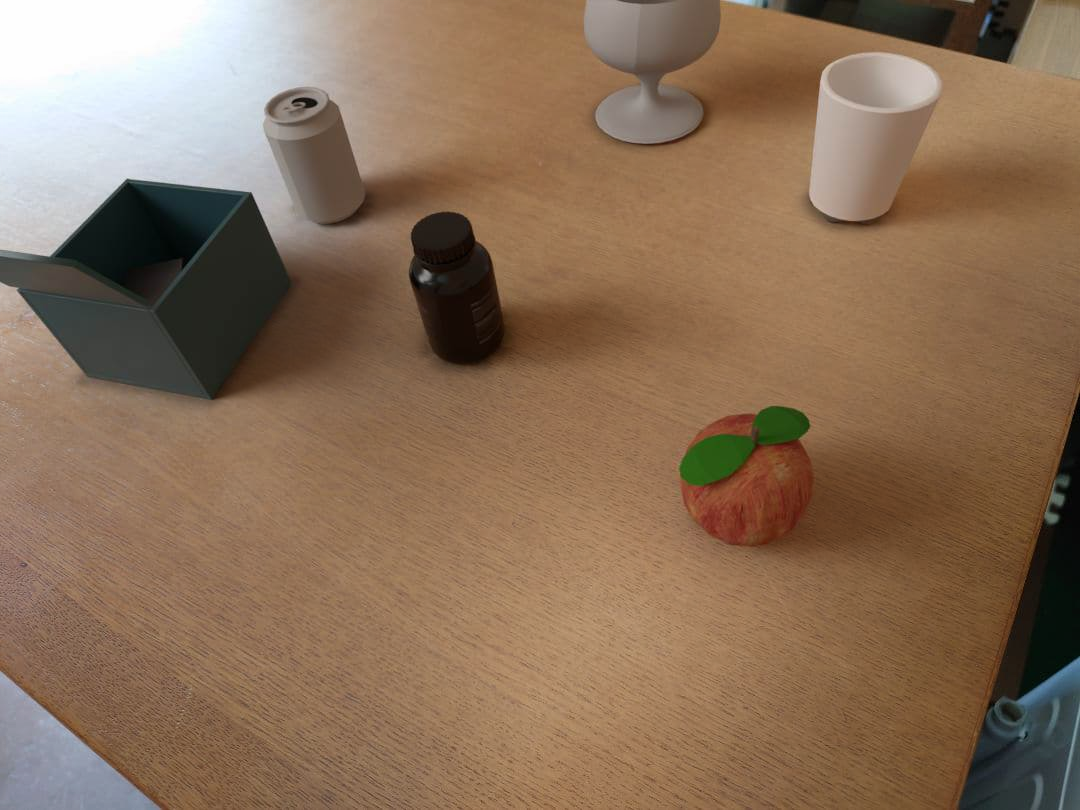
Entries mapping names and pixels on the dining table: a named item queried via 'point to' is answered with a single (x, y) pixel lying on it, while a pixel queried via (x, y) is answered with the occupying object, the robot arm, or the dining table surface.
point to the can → (313, 154)
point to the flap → (62, 278)
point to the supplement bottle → (455, 289)
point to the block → (153, 279)
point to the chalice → (650, 62)
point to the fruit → (749, 476)
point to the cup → (868, 132)
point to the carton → (188, 303)
